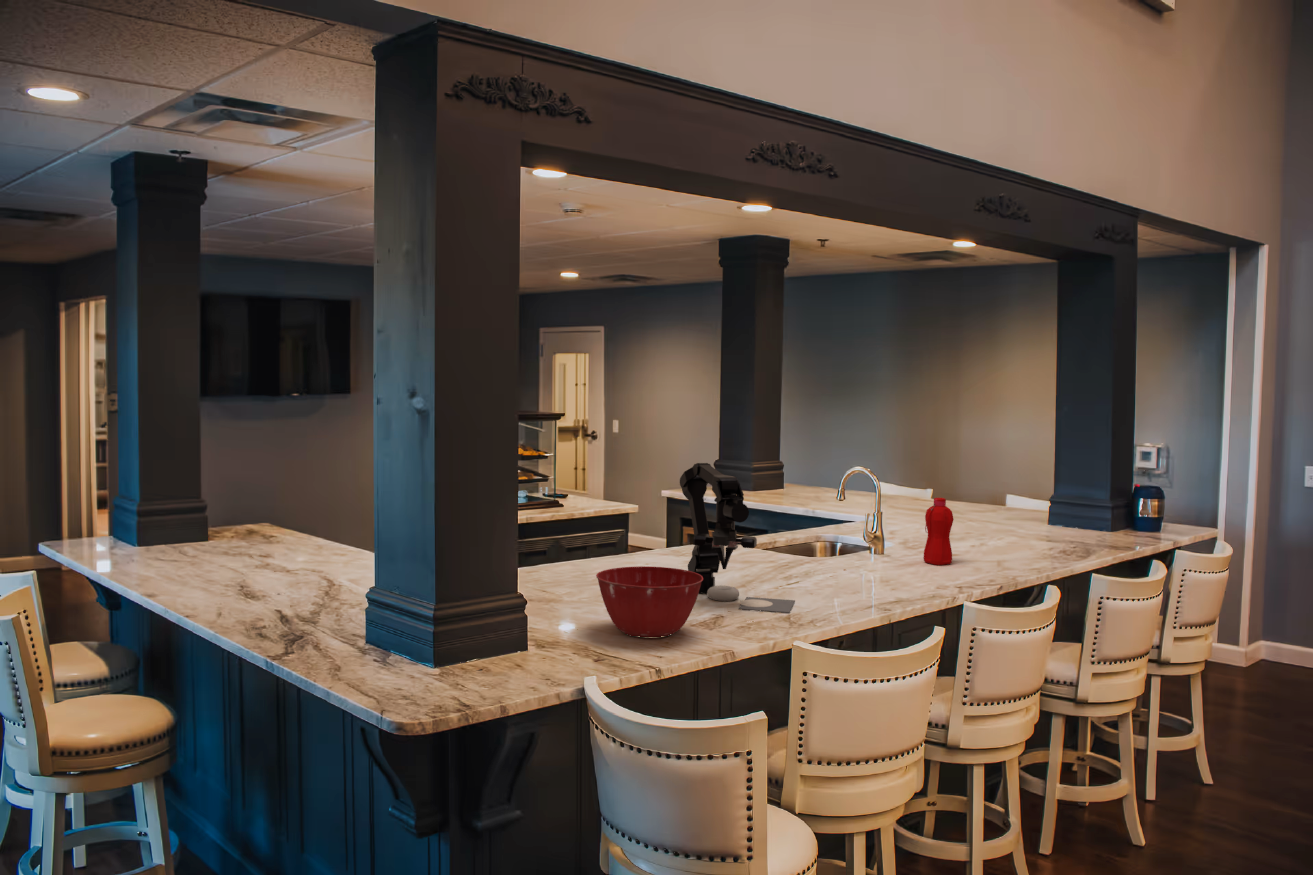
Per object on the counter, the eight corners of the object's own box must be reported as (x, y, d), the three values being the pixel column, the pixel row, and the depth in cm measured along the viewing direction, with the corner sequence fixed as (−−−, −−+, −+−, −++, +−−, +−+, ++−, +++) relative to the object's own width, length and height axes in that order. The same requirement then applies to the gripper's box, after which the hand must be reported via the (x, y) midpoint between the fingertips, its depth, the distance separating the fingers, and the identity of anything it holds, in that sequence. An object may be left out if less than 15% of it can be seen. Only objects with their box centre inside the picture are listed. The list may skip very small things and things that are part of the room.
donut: (745, 601, 297) (729, 593, 307) (745, 590, 297) (729, 583, 306) (716, 603, 293) (701, 596, 302) (716, 592, 293) (701, 585, 302)
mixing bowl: (642, 614, 278) (643, 560, 277) (723, 631, 260) (724, 574, 259) (573, 632, 256) (574, 574, 255) (656, 653, 238) (657, 591, 237)
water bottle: (916, 562, 368) (918, 497, 367) (938, 560, 373) (941, 496, 372) (932, 566, 360) (935, 499, 359) (955, 564, 365) (957, 498, 363)
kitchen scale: (735, 609, 286) (735, 607, 286) (743, 597, 301) (743, 596, 301) (789, 613, 282) (789, 611, 282) (795, 601, 298) (795, 599, 298)
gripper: (689, 519, 288) (688, 571, 288) (752, 523, 283) (751, 575, 284) (697, 515, 298) (696, 565, 299) (757, 518, 294) (756, 569, 295)
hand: (724, 568), depth 294 cm, fingers closed
